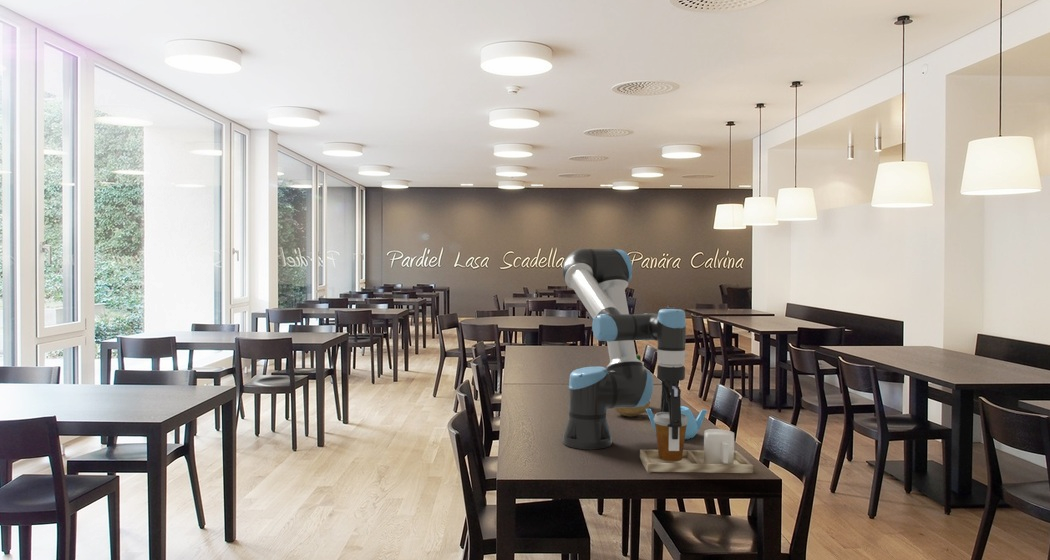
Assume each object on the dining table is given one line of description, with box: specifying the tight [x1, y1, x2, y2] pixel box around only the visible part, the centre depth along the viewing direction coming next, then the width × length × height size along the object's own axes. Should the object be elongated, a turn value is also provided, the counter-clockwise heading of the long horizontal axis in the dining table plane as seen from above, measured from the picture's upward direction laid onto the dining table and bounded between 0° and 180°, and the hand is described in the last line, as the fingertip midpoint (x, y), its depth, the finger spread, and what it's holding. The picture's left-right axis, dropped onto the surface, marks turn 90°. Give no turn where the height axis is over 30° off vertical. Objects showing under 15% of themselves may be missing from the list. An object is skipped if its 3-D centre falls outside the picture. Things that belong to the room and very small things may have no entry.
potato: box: [613, 401, 651, 417], centre depth 247 cm, size 10×14×8 cm
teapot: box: [645, 405, 708, 440], centre depth 220 cm, size 15×15×11 cm
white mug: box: [703, 428, 735, 464], centre depth 184 cm, size 8×11×9 cm
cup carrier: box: [639, 449, 754, 474], centre depth 185 cm, size 28×14×2 cm, turn 89°
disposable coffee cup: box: [653, 411, 688, 461], centre depth 185 cm, size 10×10×12 cm
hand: (670, 445), depth 185 cm, fingers closed on disposable coffee cup, 9 cm apart
